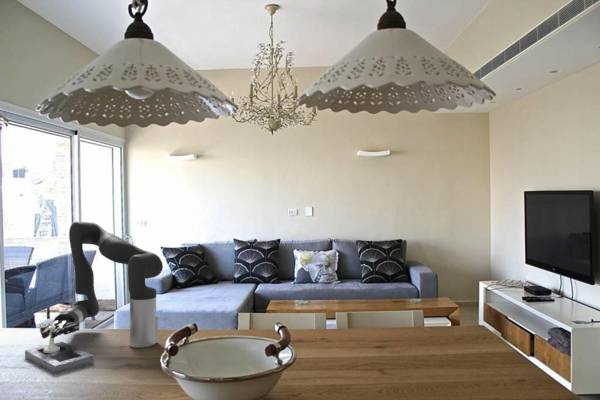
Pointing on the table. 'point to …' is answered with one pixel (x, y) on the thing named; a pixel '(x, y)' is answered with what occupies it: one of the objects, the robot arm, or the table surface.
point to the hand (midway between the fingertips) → (48, 335)
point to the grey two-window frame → (59, 358)
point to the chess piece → (51, 341)
